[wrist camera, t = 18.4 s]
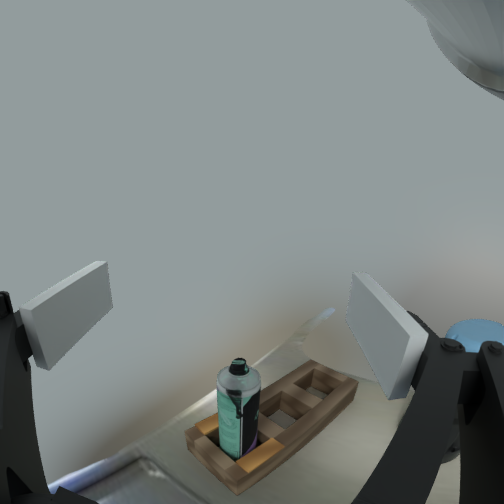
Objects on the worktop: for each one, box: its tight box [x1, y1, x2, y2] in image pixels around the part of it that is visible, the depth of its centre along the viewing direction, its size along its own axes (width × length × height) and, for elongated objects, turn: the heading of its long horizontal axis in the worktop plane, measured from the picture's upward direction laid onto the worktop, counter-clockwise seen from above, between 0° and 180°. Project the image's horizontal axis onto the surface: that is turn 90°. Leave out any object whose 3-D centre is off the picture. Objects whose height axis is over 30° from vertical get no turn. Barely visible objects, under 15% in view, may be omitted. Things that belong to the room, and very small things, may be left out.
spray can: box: [217, 358, 261, 463], centre depth 35 cm, size 6×6×20 cm
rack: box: [185, 359, 359, 495], centre depth 44 cm, size 12×31×6 cm, turn 133°
